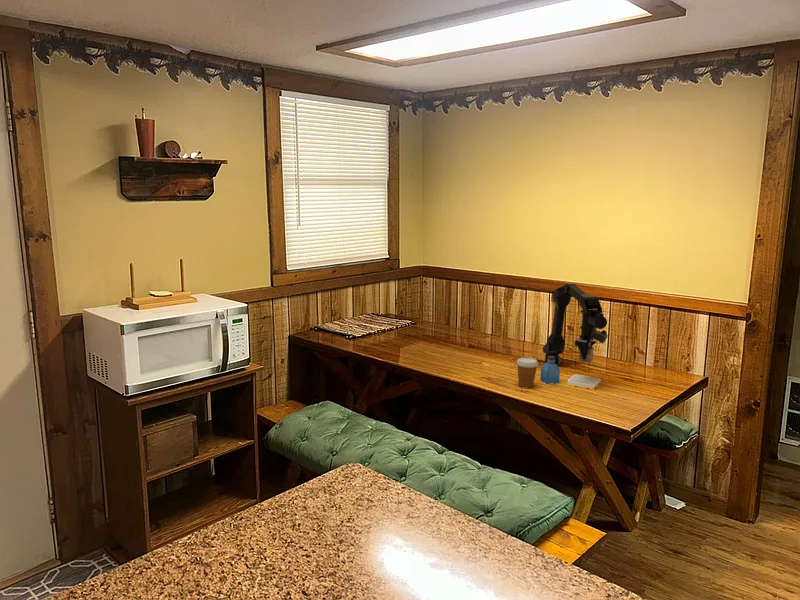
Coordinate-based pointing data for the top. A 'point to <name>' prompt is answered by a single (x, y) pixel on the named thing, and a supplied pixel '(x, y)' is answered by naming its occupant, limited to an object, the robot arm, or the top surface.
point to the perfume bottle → (550, 371)
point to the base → (584, 381)
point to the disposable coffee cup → (526, 371)
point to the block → (589, 355)
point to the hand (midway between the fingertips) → (585, 358)
